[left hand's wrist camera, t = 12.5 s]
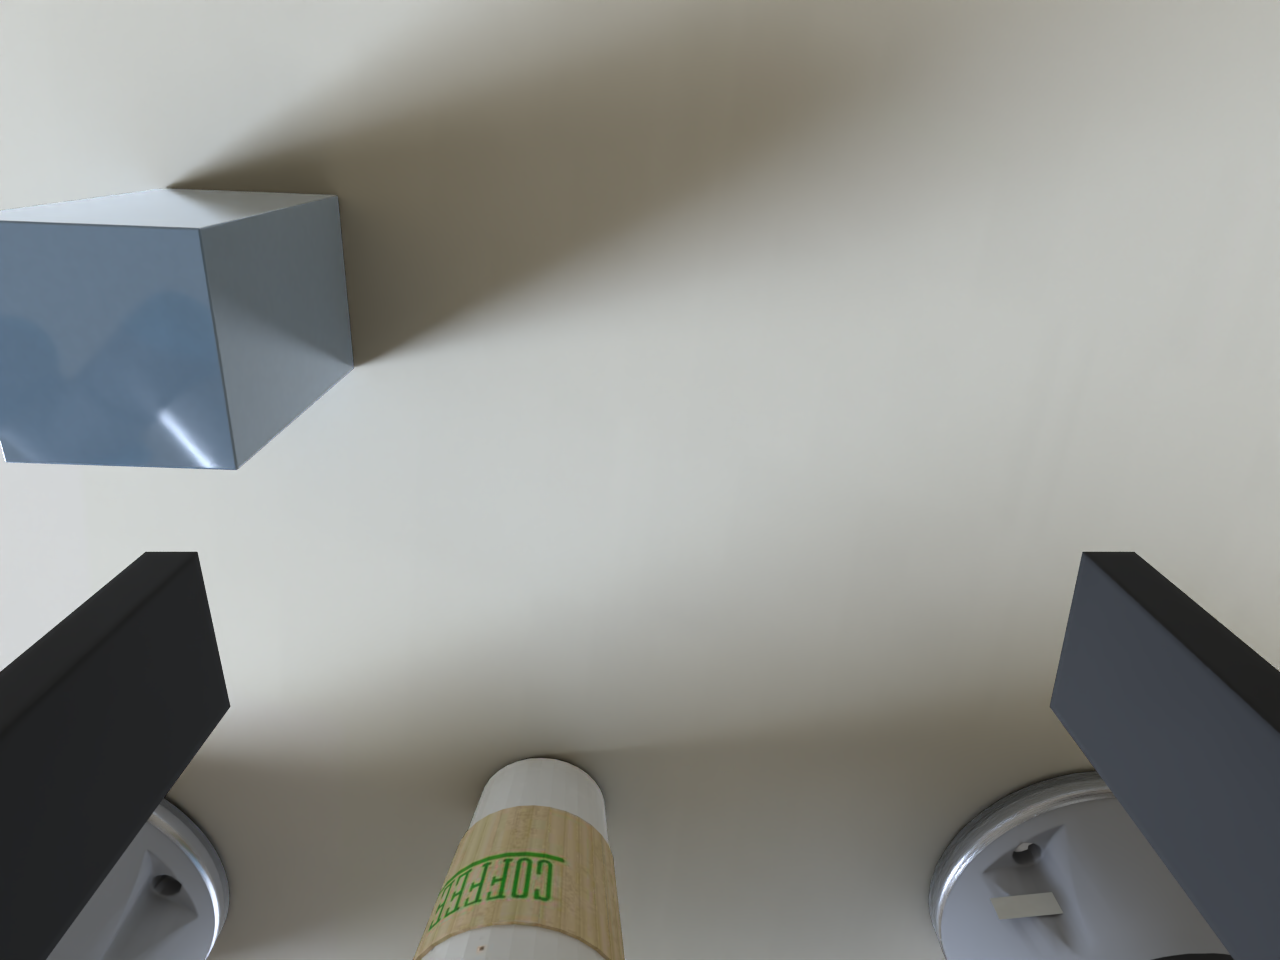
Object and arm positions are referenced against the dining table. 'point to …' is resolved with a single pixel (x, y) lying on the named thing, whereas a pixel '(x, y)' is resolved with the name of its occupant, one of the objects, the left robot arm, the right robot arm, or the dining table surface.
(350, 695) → the dining table surface
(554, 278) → the dining table surface
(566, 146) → the dining table surface
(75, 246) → the block
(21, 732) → the left robot arm
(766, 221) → the dining table surface
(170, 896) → the right robot arm
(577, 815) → the coffee cup
